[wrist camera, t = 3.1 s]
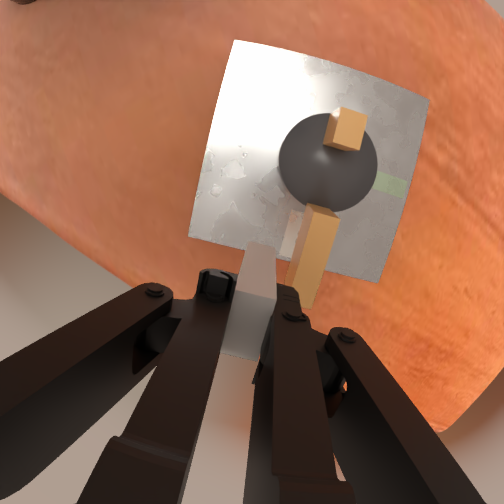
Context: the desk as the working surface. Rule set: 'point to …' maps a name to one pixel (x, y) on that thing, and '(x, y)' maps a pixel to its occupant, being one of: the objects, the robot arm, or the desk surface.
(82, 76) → the desk surface
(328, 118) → the cap
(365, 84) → the post plate
